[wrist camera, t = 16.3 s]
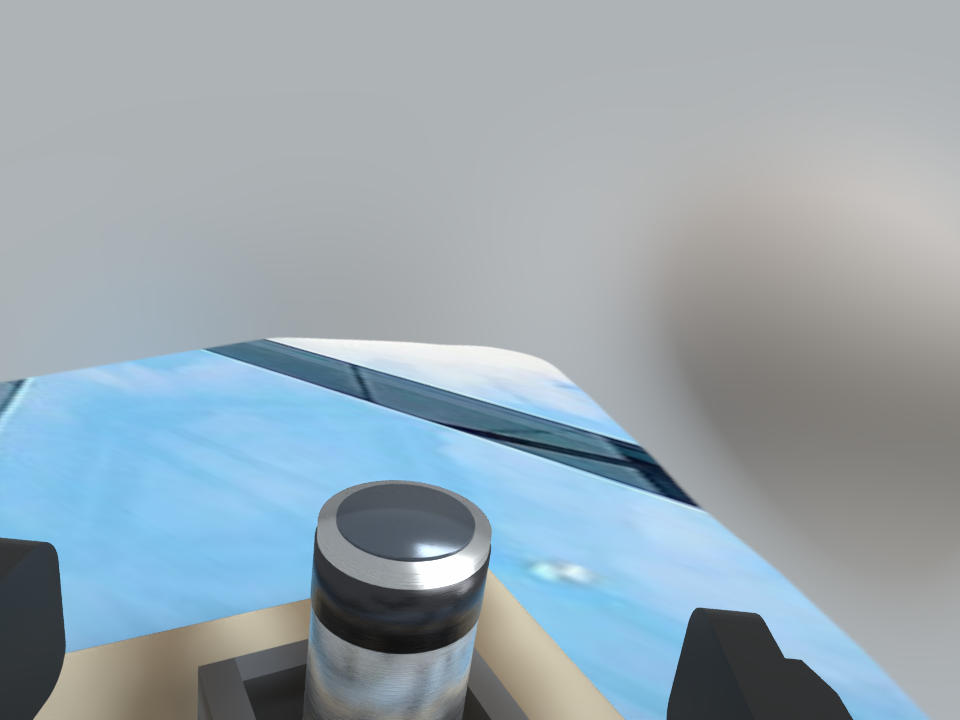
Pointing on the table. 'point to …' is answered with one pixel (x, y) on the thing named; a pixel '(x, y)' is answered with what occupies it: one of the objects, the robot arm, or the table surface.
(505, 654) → the mount board
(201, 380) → the table surface
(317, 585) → the lens
